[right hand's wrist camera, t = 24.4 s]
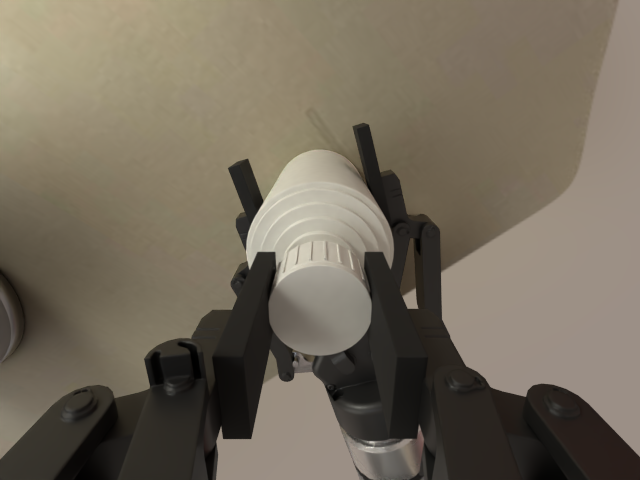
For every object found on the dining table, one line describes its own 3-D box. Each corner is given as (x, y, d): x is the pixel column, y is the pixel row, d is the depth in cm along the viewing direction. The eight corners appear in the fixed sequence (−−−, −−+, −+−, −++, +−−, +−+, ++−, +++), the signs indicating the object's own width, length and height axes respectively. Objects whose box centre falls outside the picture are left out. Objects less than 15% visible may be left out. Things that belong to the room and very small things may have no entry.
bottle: (355, 140, 28) (405, 188, 12) (369, 225, 31) (428, 363, 14) (266, 160, 29) (193, 231, 12) (288, 241, 31) (252, 393, 15)
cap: (381, 258, 14) (392, 286, 12) (343, 332, 16) (347, 369, 13) (293, 224, 14) (288, 247, 12) (261, 304, 15) (251, 338, 13)
